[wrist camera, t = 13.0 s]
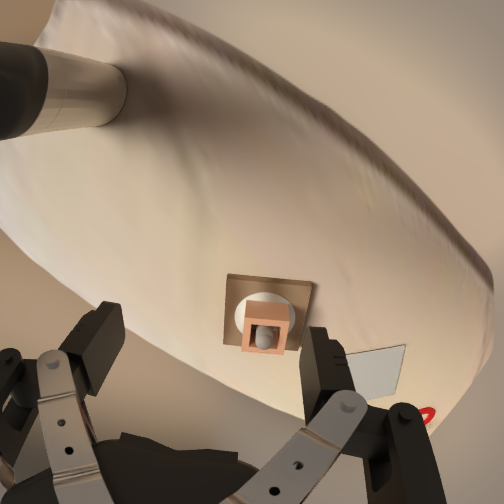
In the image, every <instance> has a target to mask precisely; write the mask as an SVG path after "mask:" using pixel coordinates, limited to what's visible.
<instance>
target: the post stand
mask: <svg viewBox="0 0 504 504" xmlns="http://www.w3.org/2000/svg"><path fill="white" fill-rule="evenodd" d="M311 289H312V285H311V282H310V281H298V280H288V279H277V278H266V277H256V276H246V275H236V274H228V275H227V280H226V299H225V318H224V339H223V344H226V345H235V346H242V337H243V327H244V316H245V308H246V300H254V301H264V302H275V303H286V304H288V308H289V318H290V323H289V328H288V333H287V339H286V344H285V349H284V350H293V351H298V349H299V344H300V340H301V336H302V331H303V327H304V322H305V317H306V313H307V308H308V303H309V299H310V294H311ZM251 328H255V329H256V340H255V342H256V345H257V347H258V348H259V349H261V350H267V349H269V348H271V347H272V345H273V330H277V326H265V325H254V324H251Z"/></svg>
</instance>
